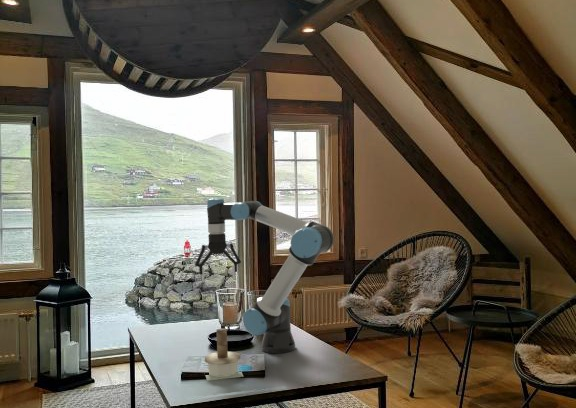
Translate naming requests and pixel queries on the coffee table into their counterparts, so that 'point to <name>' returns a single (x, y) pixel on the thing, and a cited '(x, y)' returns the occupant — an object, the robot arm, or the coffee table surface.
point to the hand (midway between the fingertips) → (218, 280)
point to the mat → (238, 374)
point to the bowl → (223, 369)
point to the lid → (222, 351)
